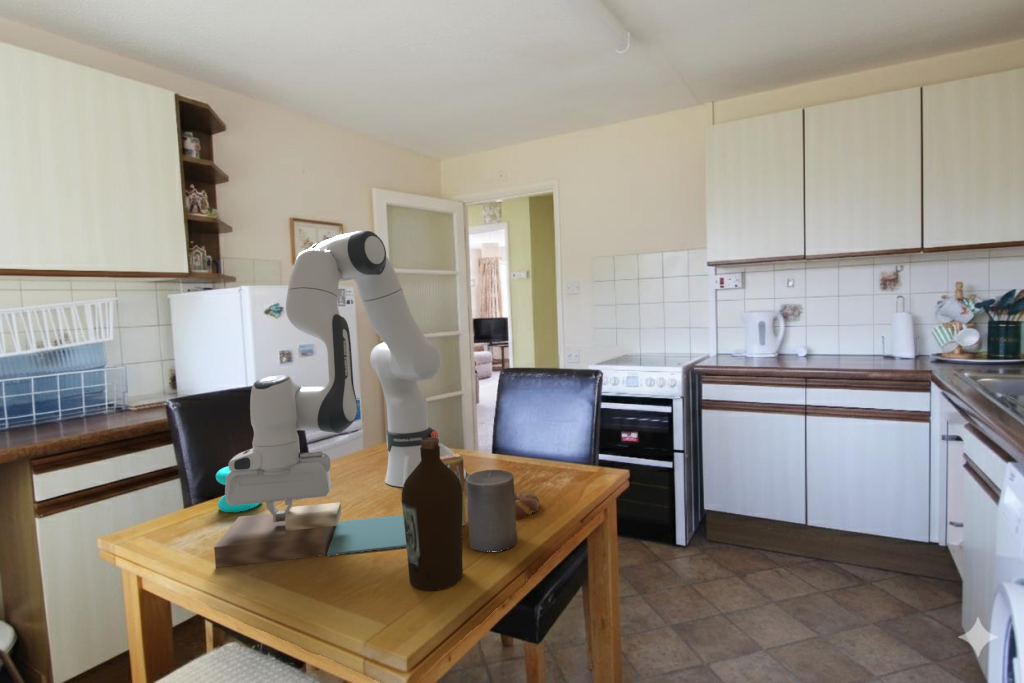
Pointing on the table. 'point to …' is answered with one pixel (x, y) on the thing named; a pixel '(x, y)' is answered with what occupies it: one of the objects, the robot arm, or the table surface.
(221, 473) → the donuts
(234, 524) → the walnut board
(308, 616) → the table surface
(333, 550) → the teal mat
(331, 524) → the cream block
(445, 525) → the olive oil
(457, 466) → the candy box
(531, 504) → the pretzel
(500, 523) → the pillar candle
